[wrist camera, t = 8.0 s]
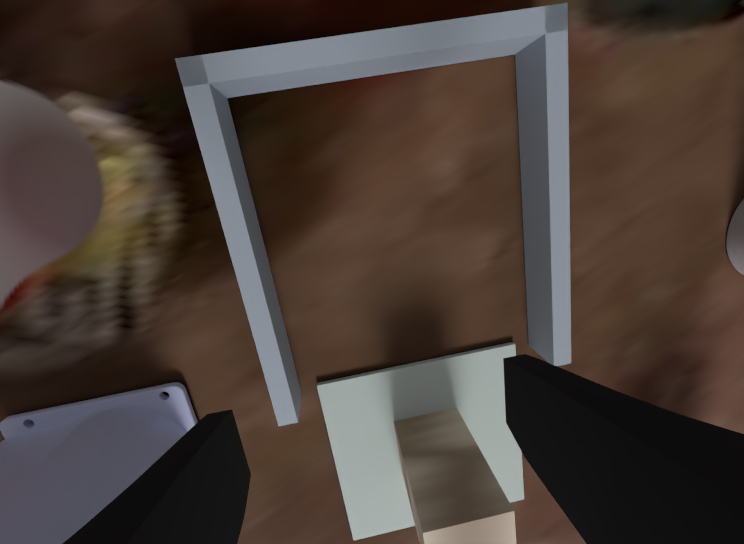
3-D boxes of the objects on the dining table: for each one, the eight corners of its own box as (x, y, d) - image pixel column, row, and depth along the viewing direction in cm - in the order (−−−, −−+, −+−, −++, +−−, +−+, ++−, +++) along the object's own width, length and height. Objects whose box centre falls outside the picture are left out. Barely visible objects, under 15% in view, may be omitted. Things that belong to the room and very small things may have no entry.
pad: (353, 536, 23) (353, 540, 23) (317, 382, 20) (316, 385, 20) (521, 495, 24) (524, 499, 24) (512, 341, 21) (515, 344, 21)
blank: (402, 473, 22) (433, 600, 16) (393, 421, 21) (422, 533, 14) (462, 459, 23) (518, 578, 16) (456, 407, 21) (514, 510, 15)
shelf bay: (284, 397, 20) (278, 426, 18) (198, 77, 16) (174, 58, 13) (544, 342, 21) (571, 363, 19) (533, 28, 17) (567, 2, 14)
